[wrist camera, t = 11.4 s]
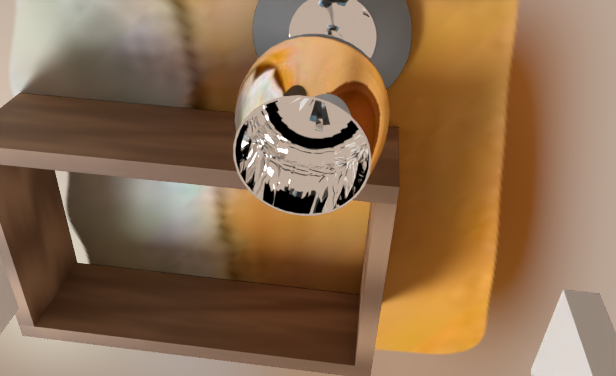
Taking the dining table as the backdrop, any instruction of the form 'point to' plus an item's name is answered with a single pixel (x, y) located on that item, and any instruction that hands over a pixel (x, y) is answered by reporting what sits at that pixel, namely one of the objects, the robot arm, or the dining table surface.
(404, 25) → the coaster
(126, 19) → the dining table surface
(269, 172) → the wineglass
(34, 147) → the rectangular wooden frame
